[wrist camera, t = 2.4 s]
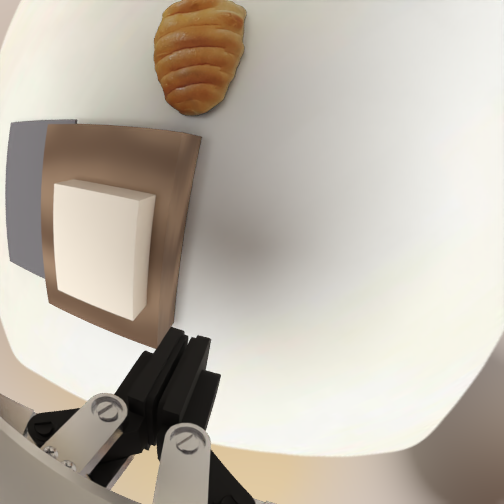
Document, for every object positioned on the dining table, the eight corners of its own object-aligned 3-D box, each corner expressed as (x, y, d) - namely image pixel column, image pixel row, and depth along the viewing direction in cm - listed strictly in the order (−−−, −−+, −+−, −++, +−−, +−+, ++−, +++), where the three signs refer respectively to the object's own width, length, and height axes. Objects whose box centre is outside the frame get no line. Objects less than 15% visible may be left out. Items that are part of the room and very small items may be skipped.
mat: (12, 122, 19) (11, 122, 18) (77, 119, 18) (74, 119, 18) (11, 260, 24) (10, 261, 24) (70, 288, 24) (68, 289, 24)
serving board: (78, 125, 19) (48, 124, 15) (201, 136, 18) (182, 132, 15) (72, 285, 24) (48, 302, 20) (173, 322, 24) (157, 349, 20)
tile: (74, 179, 16) (54, 183, 14) (156, 194, 16) (139, 200, 14) (74, 278, 19) (57, 289, 17) (146, 304, 19) (133, 320, 17)
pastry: (245, 115, 18) (236, 106, 14) (157, 121, 18) (133, 115, 15) (248, 9, 15) (241, -15, 11) (166, 20, 15) (146, 1, 12)
